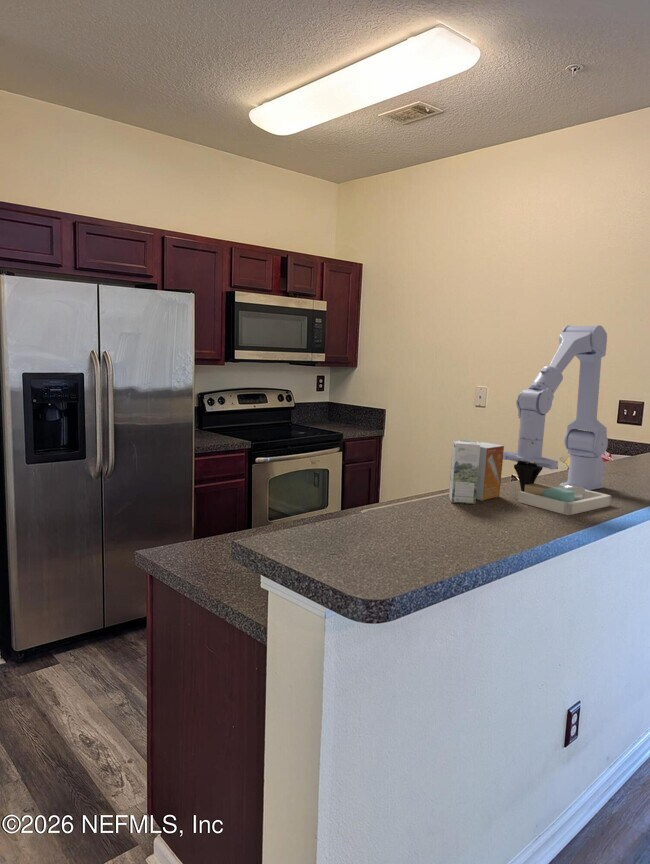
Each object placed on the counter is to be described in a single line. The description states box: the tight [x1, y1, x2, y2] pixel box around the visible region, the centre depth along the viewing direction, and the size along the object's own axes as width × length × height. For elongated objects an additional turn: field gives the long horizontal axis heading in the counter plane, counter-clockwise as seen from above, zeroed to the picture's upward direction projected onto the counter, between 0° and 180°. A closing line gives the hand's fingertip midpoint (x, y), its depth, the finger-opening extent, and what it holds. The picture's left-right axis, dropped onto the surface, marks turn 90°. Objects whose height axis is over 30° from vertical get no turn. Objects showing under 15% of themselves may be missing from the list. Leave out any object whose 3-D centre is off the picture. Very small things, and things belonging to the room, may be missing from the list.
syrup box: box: [448, 439, 480, 505], centre depth 144 cm, size 6×6×14 cm
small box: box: [476, 441, 505, 501], centre depth 150 cm, size 8×6×13 cm
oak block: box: [524, 482, 555, 496], centre depth 147 cm, size 5×5×4 cm
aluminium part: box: [563, 484, 585, 501], centre depth 149 cm, size 5×5×4 cm
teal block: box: [543, 486, 575, 503], centre depth 144 cm, size 5×5×4 cm
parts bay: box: [517, 483, 612, 516], centre depth 147 cm, size 18×13×2 cm
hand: (525, 492), depth 151 cm, fingers closed
